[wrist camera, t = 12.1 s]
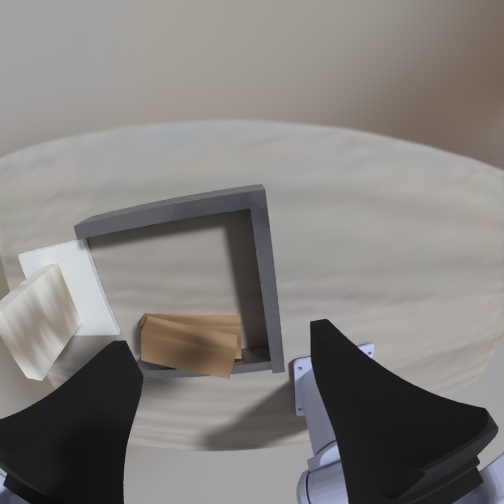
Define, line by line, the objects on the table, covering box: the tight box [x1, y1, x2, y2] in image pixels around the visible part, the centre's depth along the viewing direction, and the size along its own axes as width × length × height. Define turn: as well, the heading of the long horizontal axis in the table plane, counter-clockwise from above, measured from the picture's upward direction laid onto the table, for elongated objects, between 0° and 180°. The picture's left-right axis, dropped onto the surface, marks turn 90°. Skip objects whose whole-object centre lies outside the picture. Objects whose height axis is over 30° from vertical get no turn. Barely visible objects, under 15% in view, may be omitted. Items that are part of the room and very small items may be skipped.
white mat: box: [18, 238, 121, 335], centre depth 20 cm, size 9×9×1 cm
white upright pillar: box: [0, 263, 82, 381], centre depth 16 cm, size 6×2×8 cm, turn 8°
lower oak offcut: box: [140, 313, 242, 359], centre depth 21 cm, size 4×8×2 cm, turn 90°
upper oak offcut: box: [141, 316, 237, 378], centre depth 19 cm, size 3×7×2 cm, turn 76°
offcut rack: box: [74, 184, 285, 378], centre depth 19 cm, size 14×13×2 cm
